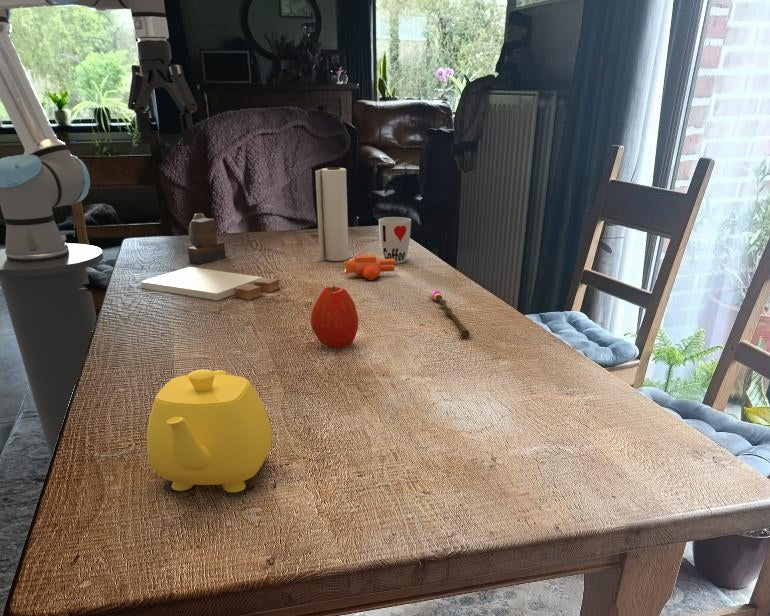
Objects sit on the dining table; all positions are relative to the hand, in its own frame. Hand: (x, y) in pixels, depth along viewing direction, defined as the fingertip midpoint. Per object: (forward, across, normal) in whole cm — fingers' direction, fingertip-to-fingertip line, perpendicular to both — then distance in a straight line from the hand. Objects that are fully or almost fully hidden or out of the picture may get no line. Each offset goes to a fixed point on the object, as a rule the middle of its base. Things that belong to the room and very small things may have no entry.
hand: (167, 144), depth 174 cm
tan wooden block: (+26, +41, -17) cm, 52 cm away
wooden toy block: (+26, +9, -1) cm, 28 cm away
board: (+26, +26, -22) cm, 43 cm away
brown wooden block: (+26, +41, -24) cm, 54 cm away
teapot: (+26, +88, -91) cm, 129 cm away
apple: (+26, +75, -43) cm, 90 cm away
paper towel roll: (+26, +38, +15) cm, 49 cm away
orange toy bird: (+26, +56, +2) cm, 62 cm away
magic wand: (+26, +85, -16) cm, 90 cm away
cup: (+26, +53, +20) cm, 63 cm away
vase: (+27, -2, +10) cm, 29 cm away
